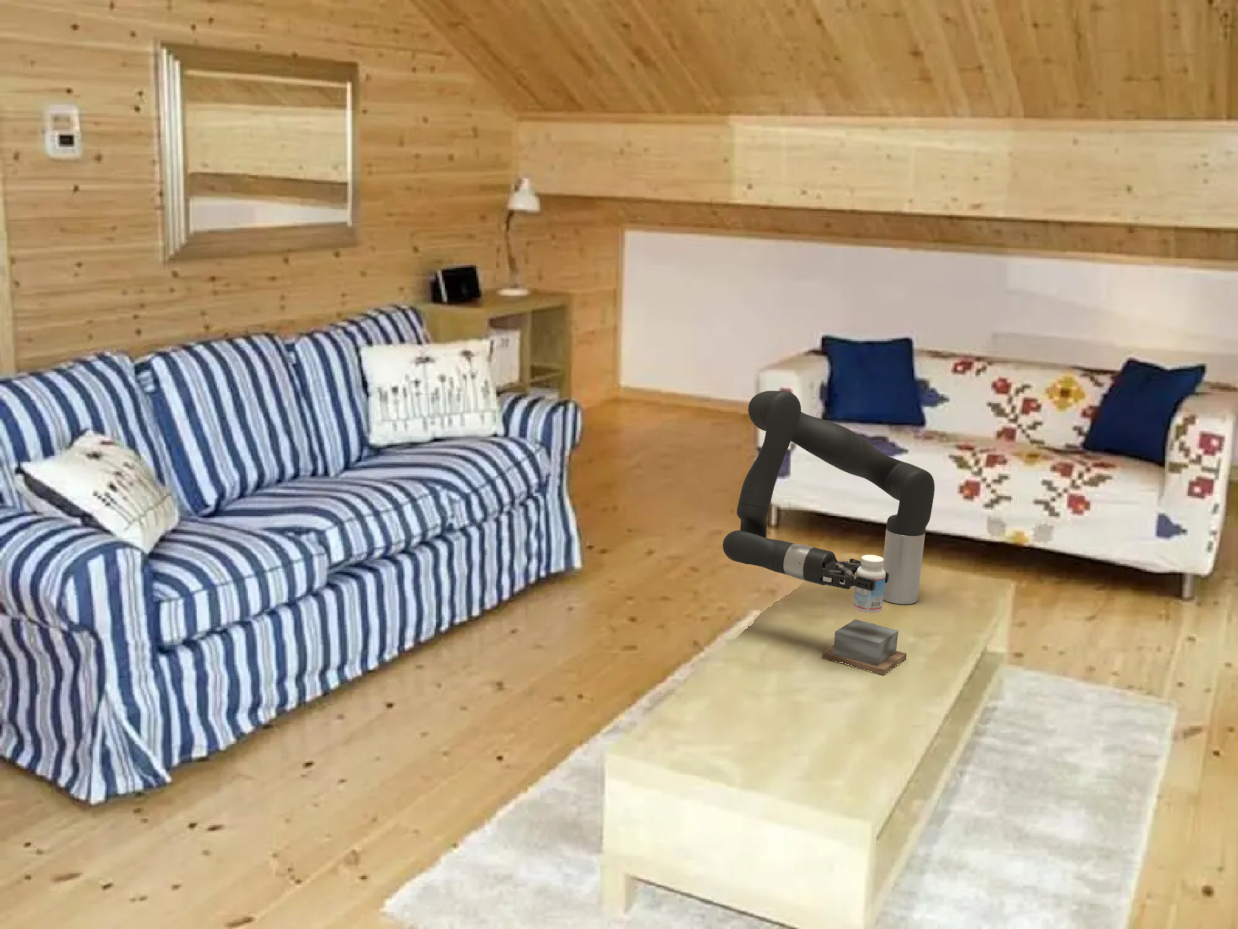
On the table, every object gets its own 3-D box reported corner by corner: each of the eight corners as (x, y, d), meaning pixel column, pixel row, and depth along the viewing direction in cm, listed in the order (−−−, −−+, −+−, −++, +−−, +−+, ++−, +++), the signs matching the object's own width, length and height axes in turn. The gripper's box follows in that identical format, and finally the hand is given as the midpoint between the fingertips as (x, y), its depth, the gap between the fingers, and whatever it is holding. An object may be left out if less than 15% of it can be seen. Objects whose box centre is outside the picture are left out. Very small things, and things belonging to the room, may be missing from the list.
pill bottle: (880, 605, 271) (886, 554, 268) (883, 615, 265) (888, 563, 262) (851, 602, 271) (857, 552, 269) (853, 612, 265) (859, 561, 263)
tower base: (846, 642, 279) (848, 615, 278) (906, 658, 271) (909, 631, 270) (821, 658, 269) (824, 630, 268) (883, 675, 262) (886, 647, 260)
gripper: (795, 554, 268) (868, 573, 258) (826, 540, 279) (897, 557, 270) (792, 588, 269) (865, 607, 260) (822, 572, 281) (893, 590, 272)
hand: (881, 582), depth 265 cm, fingers closed on pill bottle, 6 cm apart
